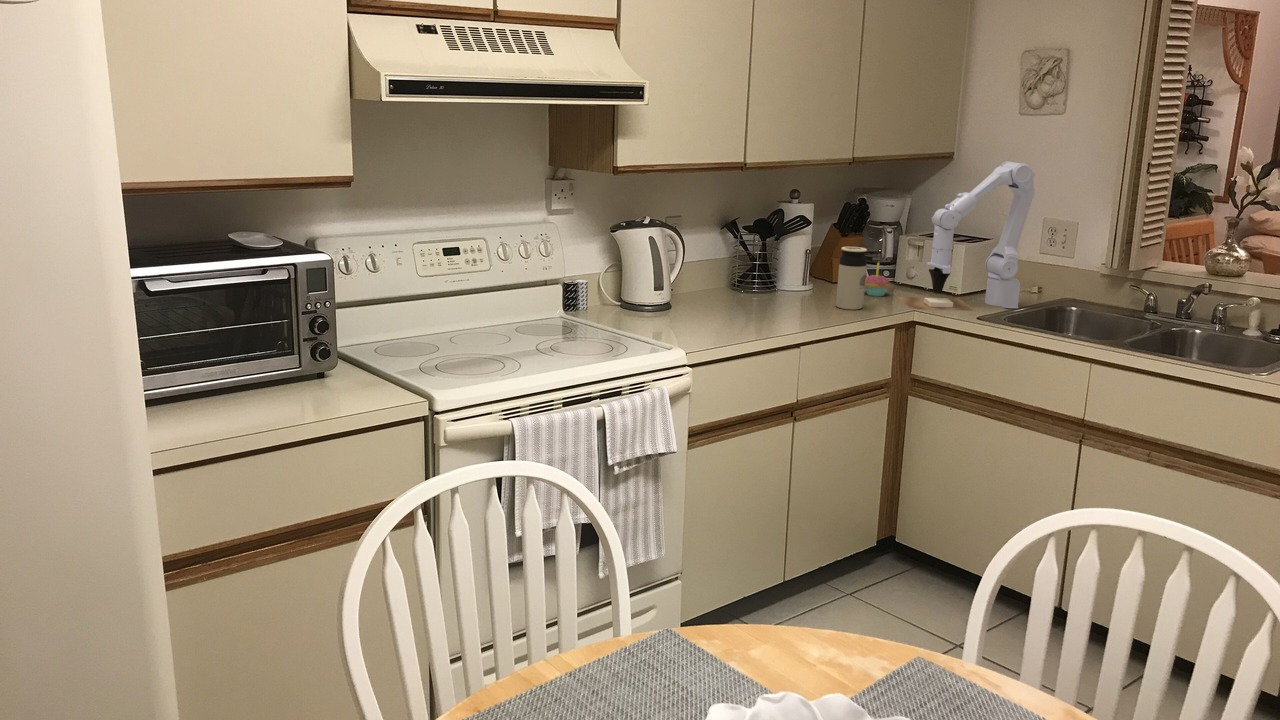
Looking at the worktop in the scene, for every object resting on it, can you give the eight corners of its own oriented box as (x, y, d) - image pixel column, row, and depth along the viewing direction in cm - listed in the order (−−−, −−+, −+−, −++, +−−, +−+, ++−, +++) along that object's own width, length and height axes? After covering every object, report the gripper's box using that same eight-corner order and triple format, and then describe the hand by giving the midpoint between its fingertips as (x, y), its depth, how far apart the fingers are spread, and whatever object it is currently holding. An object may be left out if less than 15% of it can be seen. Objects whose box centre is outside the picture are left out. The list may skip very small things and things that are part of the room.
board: (958, 301, 322) (958, 298, 322) (977, 313, 305) (977, 310, 304) (895, 299, 322) (896, 296, 321) (910, 311, 304) (911, 308, 304)
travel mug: (830, 306, 307) (835, 247, 303) (846, 303, 312) (851, 245, 308) (851, 311, 301) (856, 251, 297) (867, 308, 307) (873, 249, 302)
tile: (946, 298, 313) (953, 302, 307) (946, 303, 314) (952, 307, 307) (924, 297, 313) (930, 302, 307) (923, 302, 314) (929, 307, 307)
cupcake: (889, 300, 320) (893, 262, 317) (862, 298, 321) (865, 261, 318) (887, 295, 328) (891, 258, 325) (860, 293, 329) (863, 256, 326)
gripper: (922, 244, 315) (917, 287, 319) (935, 252, 301) (930, 297, 305) (944, 245, 315) (940, 288, 319) (959, 252, 301) (954, 297, 305)
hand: (937, 292), depth 312 cm, fingers closed
